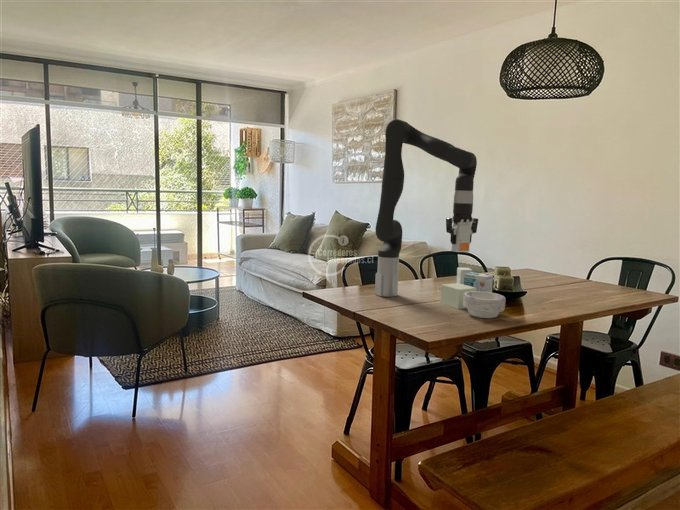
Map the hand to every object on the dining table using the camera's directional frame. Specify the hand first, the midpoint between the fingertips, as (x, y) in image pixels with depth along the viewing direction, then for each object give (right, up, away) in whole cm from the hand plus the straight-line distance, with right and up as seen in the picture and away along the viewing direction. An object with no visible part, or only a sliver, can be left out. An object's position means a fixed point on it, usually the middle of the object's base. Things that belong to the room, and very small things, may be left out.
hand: (460, 243), depth 199 cm
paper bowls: (+5, -28, -13) cm, 31 cm away
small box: (+10, -22, +33) cm, 41 cm away
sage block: (-1, -25, +3) cm, 25 cm away
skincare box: (0, -3, 0) cm, 3 cm away
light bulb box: (+11, -24, +17) cm, 31 cm away
